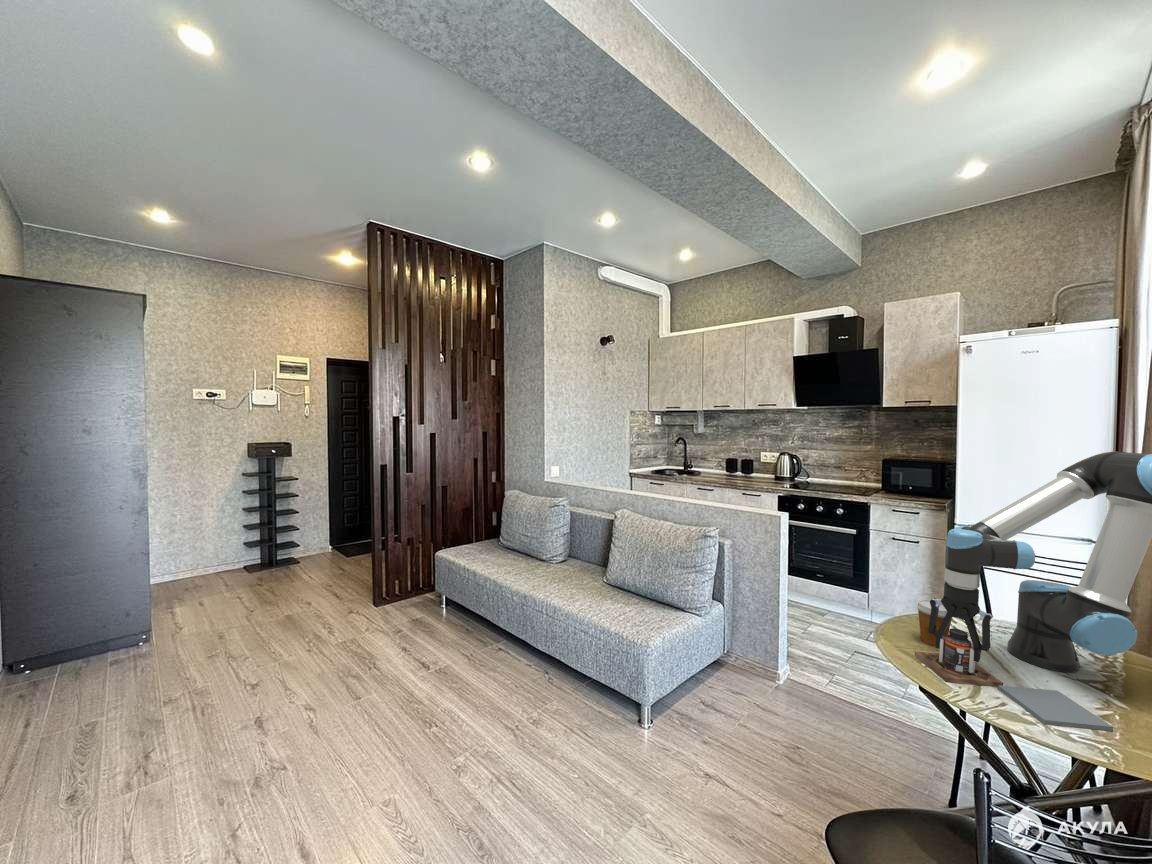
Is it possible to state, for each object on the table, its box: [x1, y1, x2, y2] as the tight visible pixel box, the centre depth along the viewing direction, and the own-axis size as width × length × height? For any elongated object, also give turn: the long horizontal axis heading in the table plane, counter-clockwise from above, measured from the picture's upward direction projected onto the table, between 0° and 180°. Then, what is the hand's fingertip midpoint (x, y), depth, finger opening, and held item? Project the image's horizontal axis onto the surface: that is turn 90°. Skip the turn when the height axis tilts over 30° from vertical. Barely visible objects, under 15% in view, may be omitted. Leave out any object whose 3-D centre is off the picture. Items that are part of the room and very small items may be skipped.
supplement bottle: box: [942, 627, 973, 675], centre depth 129 cm, size 6×6×11 cm
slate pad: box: [997, 685, 1114, 732], centre depth 113 cm, size 14×14×1 cm
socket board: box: [914, 651, 1004, 688], centre depth 130 cm, size 14×14×1 cm
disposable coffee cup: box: [915, 599, 953, 647], centre depth 146 cm, size 10×10×12 cm
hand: (956, 665), depth 130 cm, fingers closed on supplement bottle, 6 cm apart
